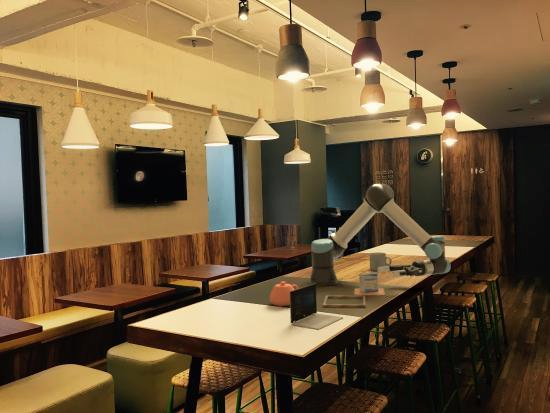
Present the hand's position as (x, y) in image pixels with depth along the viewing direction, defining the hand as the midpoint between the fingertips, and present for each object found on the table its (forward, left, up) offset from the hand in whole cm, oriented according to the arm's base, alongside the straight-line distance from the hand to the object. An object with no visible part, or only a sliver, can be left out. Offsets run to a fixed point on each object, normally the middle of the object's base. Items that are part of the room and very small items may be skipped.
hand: (385, 272), depth 225 cm
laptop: (-28, -56, -10) cm, 64 cm away
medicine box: (-8, -4, -9) cm, 13 cm away
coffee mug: (0, +61, -9) cm, 62 cm away
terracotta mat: (-8, -5, -9) cm, 13 cm away
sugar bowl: (-45, -30, -9) cm, 55 cm away
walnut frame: (-19, -26, -9) cm, 33 cm away
